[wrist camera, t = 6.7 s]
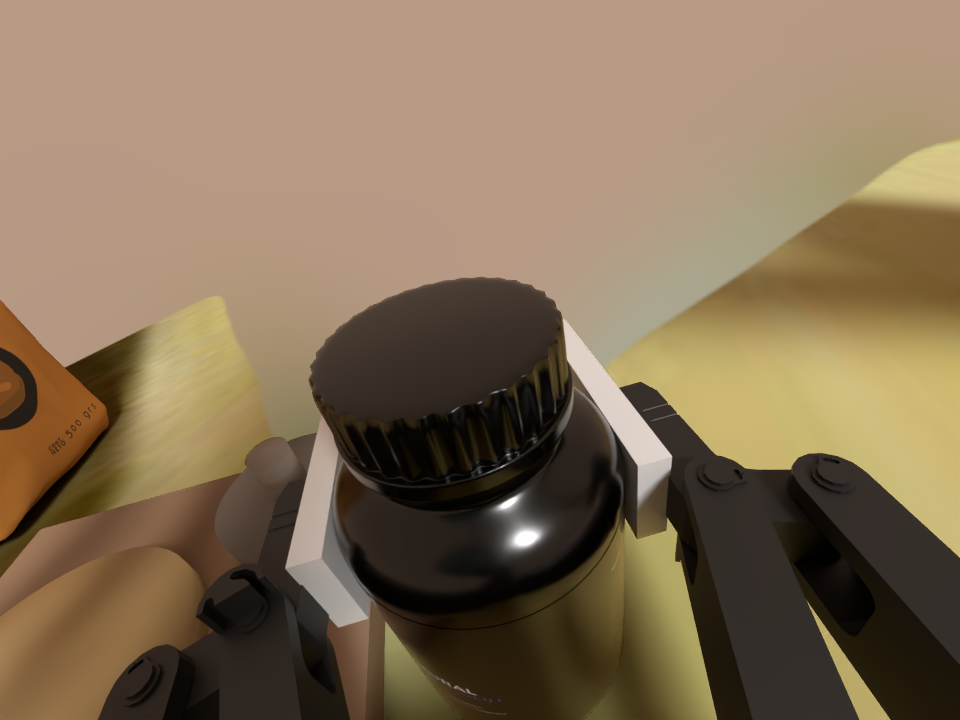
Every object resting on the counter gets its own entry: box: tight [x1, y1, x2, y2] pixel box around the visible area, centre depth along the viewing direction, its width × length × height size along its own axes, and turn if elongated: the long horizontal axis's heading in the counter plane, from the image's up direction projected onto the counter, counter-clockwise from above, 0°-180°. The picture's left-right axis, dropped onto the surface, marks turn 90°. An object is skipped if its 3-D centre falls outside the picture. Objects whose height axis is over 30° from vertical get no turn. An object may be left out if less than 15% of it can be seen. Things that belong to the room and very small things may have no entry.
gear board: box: [0, 433, 385, 720], centre depth 13 cm, size 18×18×6 cm
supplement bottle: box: [309, 277, 625, 720], centre depth 11 cm, size 7×7×12 cm
